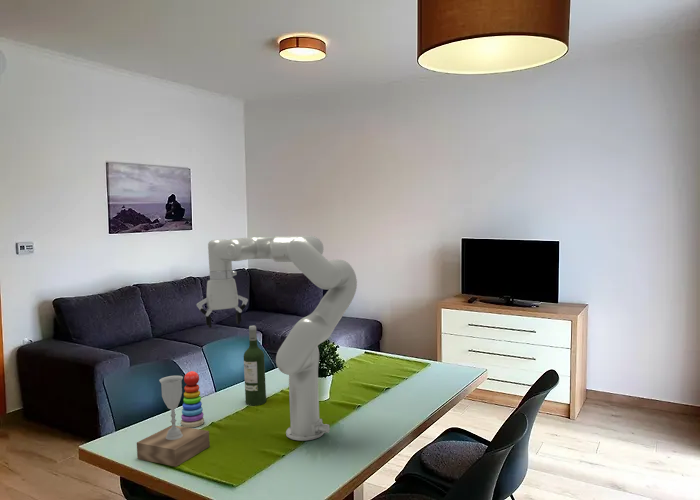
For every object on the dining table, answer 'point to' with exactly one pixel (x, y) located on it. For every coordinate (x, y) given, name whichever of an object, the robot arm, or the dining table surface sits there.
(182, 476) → the dining table surface
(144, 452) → the plinth
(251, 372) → the wine bottle
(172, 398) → the chalice
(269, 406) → the dining table surface
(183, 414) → the stacking toy
